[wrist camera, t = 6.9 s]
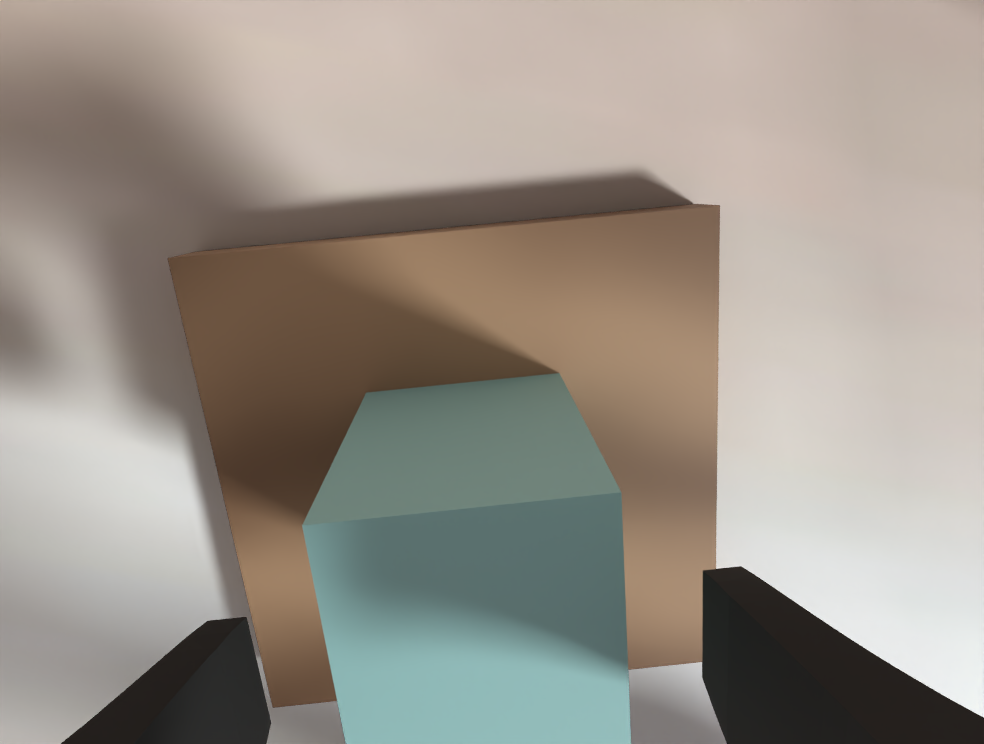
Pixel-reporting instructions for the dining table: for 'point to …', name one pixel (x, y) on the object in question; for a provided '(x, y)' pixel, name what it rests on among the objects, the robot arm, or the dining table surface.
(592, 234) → the walnut slab
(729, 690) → the robot arm
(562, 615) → the teal block
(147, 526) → the dining table surface
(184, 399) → the dining table surface
